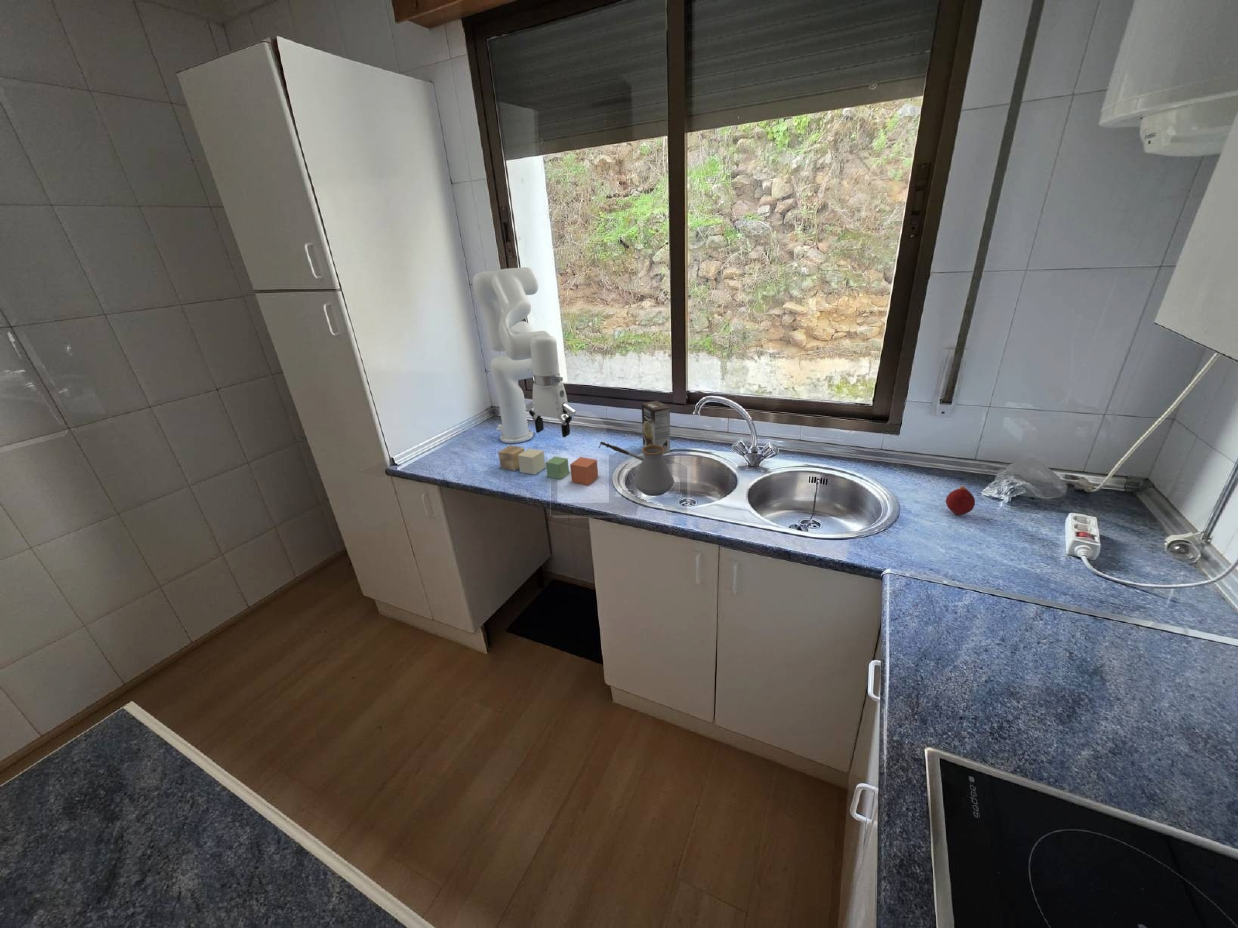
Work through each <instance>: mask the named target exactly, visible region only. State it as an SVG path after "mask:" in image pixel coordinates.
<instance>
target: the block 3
mask: <svg viewBox="0 0 1238 928" xmlns="http://www.w3.org/2000/svg"><path fill="white" fill-rule="evenodd" d="M569 468H570V469H569V470H570V477H571V483H574V484H580V485H585V486H589V485H591V484H592V483H593V482H595V481H596V480H597V479H598V478H599V468H598V460H597V459H595V458H588V457H583V456H580V457H578V458H577V459H576V460H574V461H573V462H571V463H570V464H569Z"/></svg>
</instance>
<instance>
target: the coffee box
mask: <svg viewBox="0 0 1238 928" xmlns="http://www.w3.org/2000/svg"><path fill="white" fill-rule="evenodd" d="M640 405H641V428H642V446H643V447H642V448H644V447H646V446H650V445H658V446H661V447H663V448H664V449H665V451H664V452H663V454H665V453H669V452H671V407H670V406H668V405H667V404H664V403H663V402H660V401H659V400H654V401H647V402H646V401H645V402H642V403H641V404H640Z"/></svg>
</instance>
